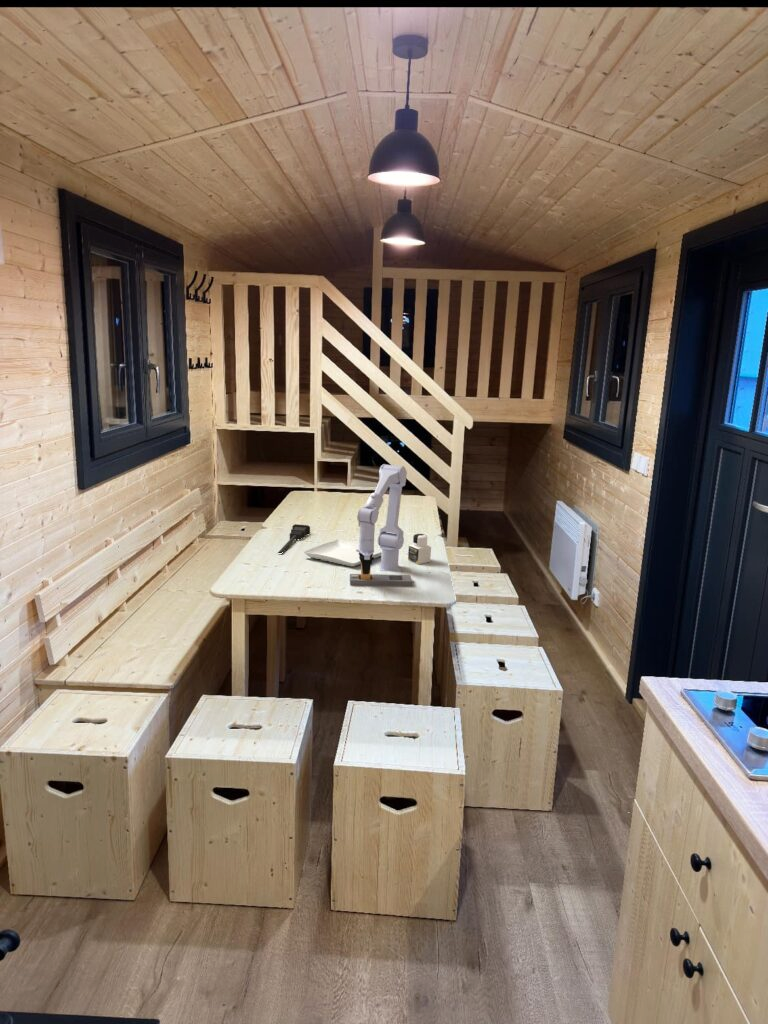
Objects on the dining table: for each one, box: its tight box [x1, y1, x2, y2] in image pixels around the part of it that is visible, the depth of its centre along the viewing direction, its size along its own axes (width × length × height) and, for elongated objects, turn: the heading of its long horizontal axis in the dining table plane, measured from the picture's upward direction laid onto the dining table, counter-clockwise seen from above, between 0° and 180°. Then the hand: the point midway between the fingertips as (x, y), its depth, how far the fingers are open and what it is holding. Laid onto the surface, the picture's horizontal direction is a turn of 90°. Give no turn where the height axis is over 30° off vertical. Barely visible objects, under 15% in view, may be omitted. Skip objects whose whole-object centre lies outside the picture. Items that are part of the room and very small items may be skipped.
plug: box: [360, 564, 372, 580], centre depth 277 cm, size 4×4×8 cm
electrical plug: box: [277, 523, 311, 554], centre depth 331 cm, size 9×42×5 cm, turn 172°
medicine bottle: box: [407, 533, 432, 565], centre depth 308 cm, size 7×7×12 cm
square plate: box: [302, 539, 382, 568], centre depth 311 cm, size 27×27×4 cm
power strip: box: [349, 573, 413, 587], centre depth 278 cm, size 8×24×3 cm, turn 94°
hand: (365, 572), depth 277 cm, fingers closed on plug, 3 cm apart
